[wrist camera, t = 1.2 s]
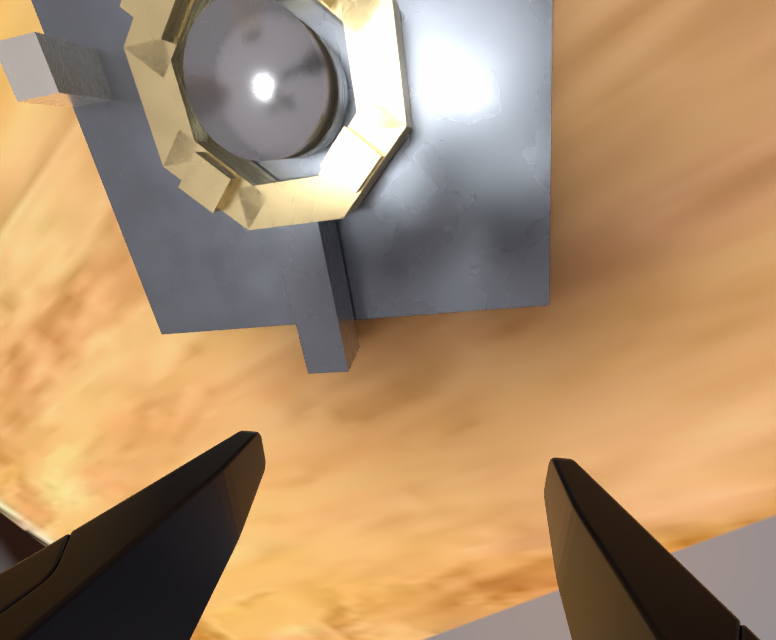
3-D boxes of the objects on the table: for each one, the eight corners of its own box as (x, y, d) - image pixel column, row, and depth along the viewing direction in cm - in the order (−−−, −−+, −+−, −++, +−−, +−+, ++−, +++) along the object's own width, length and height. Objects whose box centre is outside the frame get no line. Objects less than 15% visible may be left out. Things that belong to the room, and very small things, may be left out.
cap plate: (549, -361, 12) (599, -630, 8) (544, 297, 20) (569, 338, 16) (-8, -153, 16) (-170, -258, 12) (172, 327, 24) (113, 365, 20)
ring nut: (141, -26, 16) (69, -65, 13) (388, -93, 14) (371, -158, 11) (255, 353, 22) (224, 386, 19) (435, 342, 20) (432, 376, 17)
